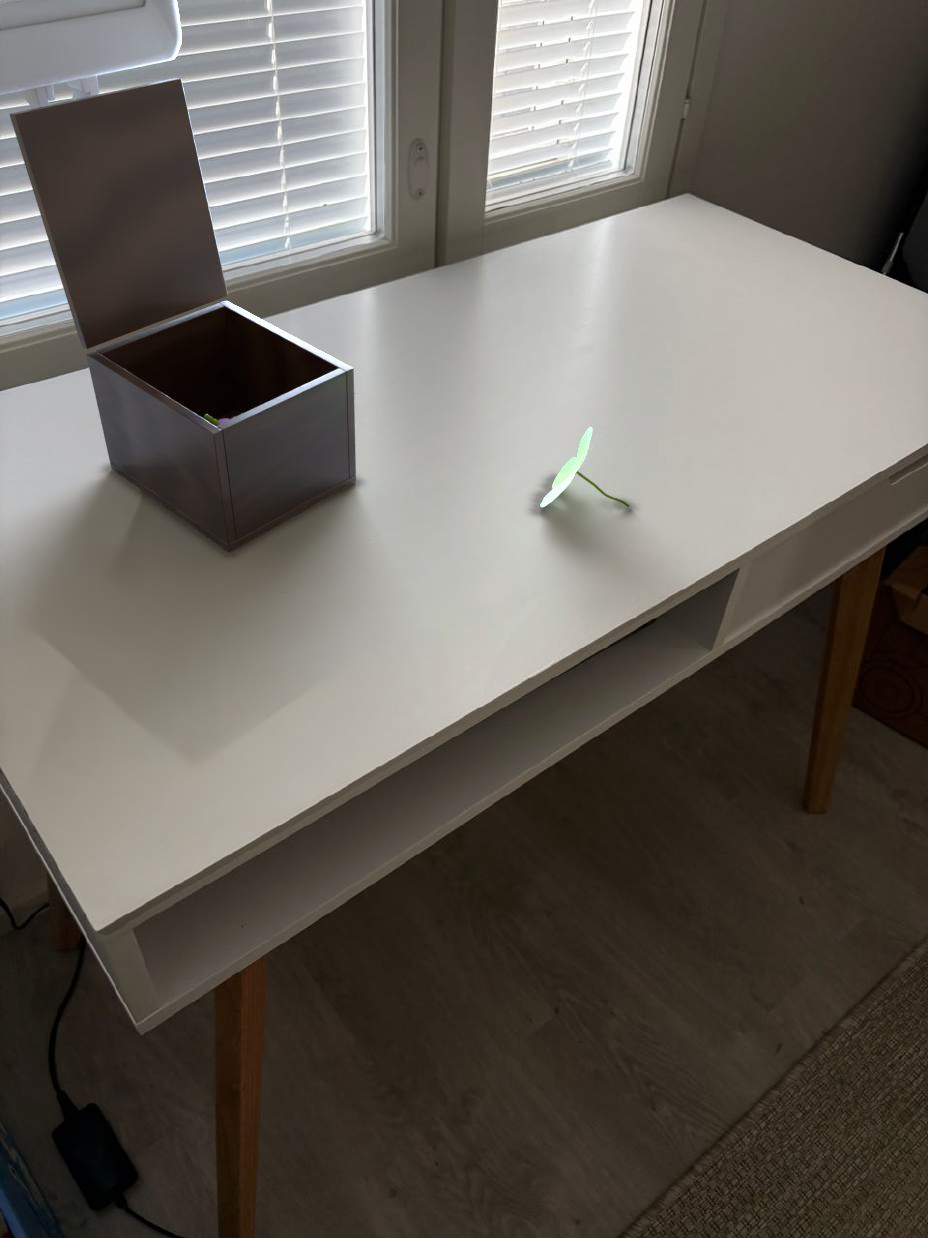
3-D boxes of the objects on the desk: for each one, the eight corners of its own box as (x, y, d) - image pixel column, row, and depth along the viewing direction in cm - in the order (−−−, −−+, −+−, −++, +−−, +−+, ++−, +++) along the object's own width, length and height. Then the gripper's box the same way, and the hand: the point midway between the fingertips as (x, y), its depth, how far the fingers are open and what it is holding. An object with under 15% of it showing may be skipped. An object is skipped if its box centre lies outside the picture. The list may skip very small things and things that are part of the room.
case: (356, 481, 86) (353, 367, 79) (229, 553, 78) (213, 434, 71) (238, 410, 93) (226, 299, 86) (111, 469, 85) (85, 353, 78)
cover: (181, 78, 75) (175, 77, 76) (14, 114, 68) (8, 113, 68) (228, 295, 85) (222, 294, 86) (87, 349, 77) (81, 347, 78)
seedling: (584, 548, 89) (526, 506, 87) (633, 474, 89) (576, 430, 88) (615, 551, 82) (552, 504, 80) (668, 469, 82) (607, 421, 81)
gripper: (-101, -48, 61) (-36, 187, 70) (180, -80, 72) (203, 126, 82) (-150, -67, 63) (-81, 162, 73) (127, -94, 75) (156, 106, 84)
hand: (71, 142), depth 77 cm, fingers closed
